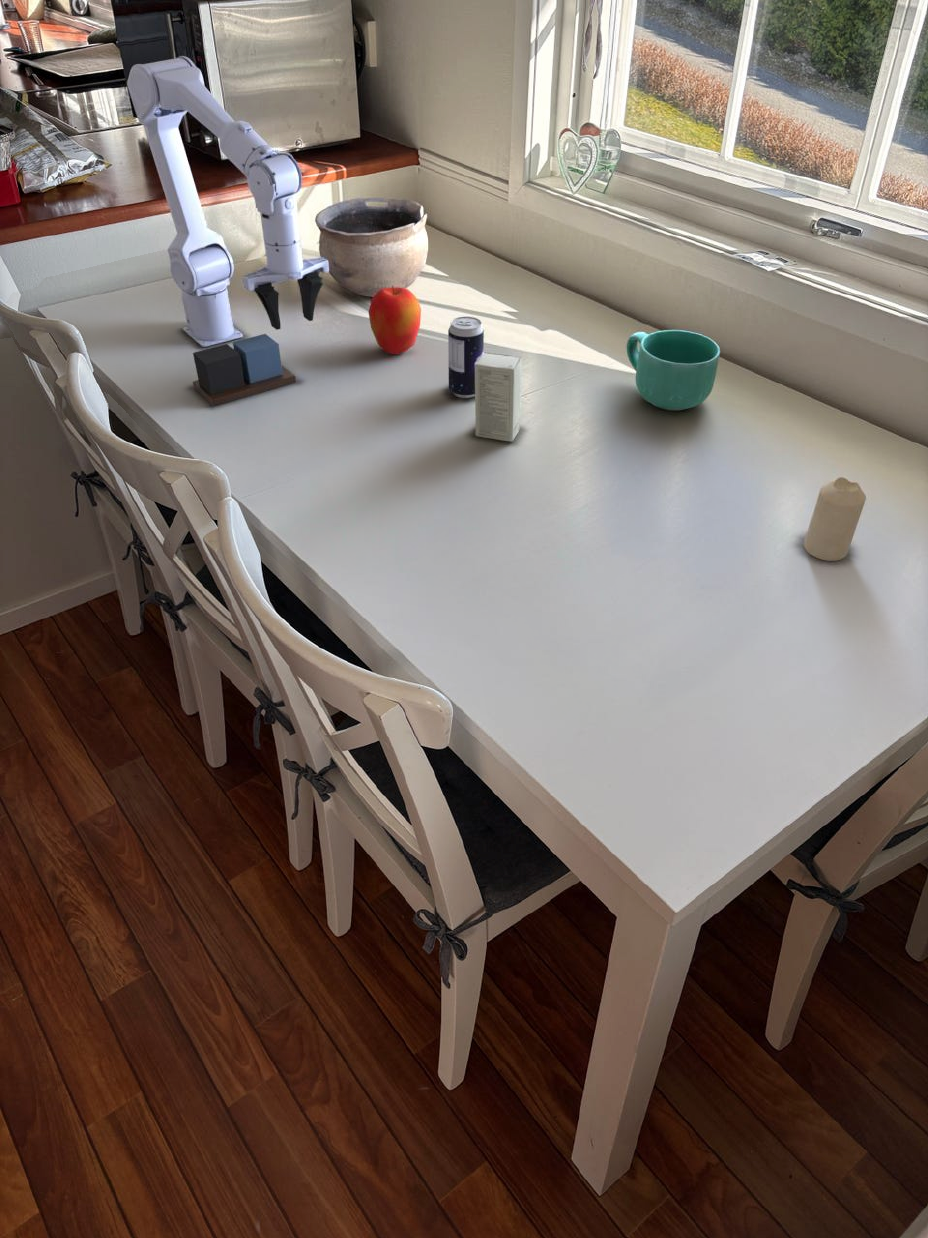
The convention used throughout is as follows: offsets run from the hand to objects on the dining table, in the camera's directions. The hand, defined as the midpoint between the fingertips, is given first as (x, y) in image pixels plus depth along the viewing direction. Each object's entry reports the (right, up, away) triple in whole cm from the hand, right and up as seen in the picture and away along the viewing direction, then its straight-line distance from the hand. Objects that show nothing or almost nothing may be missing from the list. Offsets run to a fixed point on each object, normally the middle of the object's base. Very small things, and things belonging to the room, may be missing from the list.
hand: (292, 322), depth 155 cm
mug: (+62, -13, -1) cm, 63 cm away
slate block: (-6, -8, +2) cm, 10 cm away
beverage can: (+29, -12, -1) cm, 31 cm away
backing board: (-8, -10, +1) cm, 13 cm away
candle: (+76, -41, -34) cm, 93 cm away
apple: (+17, -2, +11) cm, 20 cm away
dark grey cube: (-11, -11, -1) cm, 16 cm away
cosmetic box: (+34, -21, -11) cm, 41 cm away
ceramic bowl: (+11, +17, +33) cm, 39 cm away
